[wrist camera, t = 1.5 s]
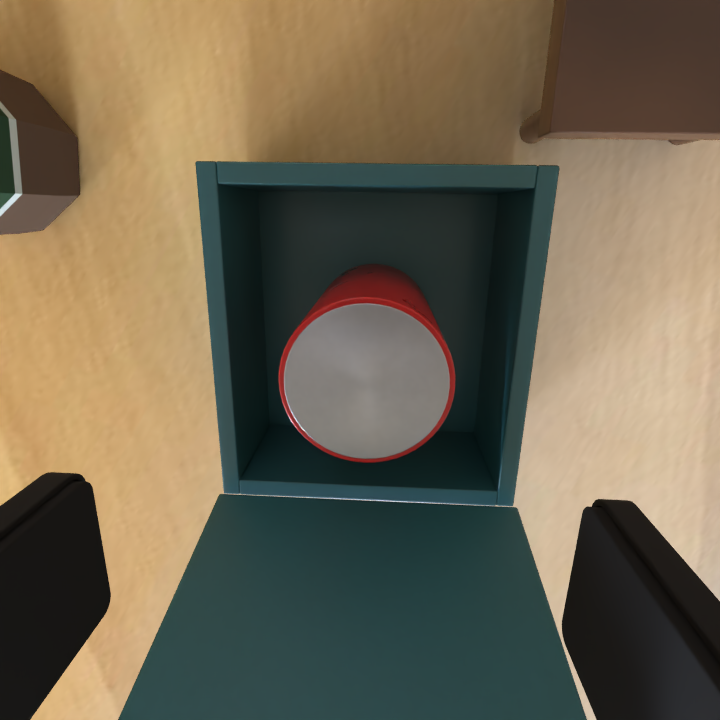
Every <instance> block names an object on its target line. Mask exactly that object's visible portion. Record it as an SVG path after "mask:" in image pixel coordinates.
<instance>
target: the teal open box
mask: <svg viewBox="0 0 720 720" xmlns="http://www.w3.org/2000/svg"><path fill="white" fill-rule="evenodd" d="M196 174H197V185H198V197H199V209H200V220H201V232H202V244H203V255H204V267H205V278H206V290H207V302H208V313H209V325H210V337H211V348H212V360H213V371H214V383H215V395H216V406H217V418H218V430H219V441H220V453H221V464H222V476H223V488H224V493H227V494H246V495H269V496H291V497H313V498H335V499H357V500H379V501H401V502H423V503H445V504H467V505H489V506H495V505H498V506H513V503H514V495H515V488H516V481H517V473H518V466H519V459H520V452H521V444H522V437H523V430H524V422H525V415H526V408H527V401H528V393H529V386H530V379H531V371H532V364H533V357H534V350H535V342H536V335H537V328H538V320H539V313H540V306H541V299H542V291H543V284H544V277H545V269H546V262H547V255H548V248H549V240H550V233H551V226H552V218H553V211H554V204H555V197H556V189H557V182H558V175H559V166H555V165H539V166H536V165H474V164H390V163H306V162H221V161H218V162H215V161H197V162H196ZM365 264H383V265H387V266H391V267H394V268H396V269H398V270H400V271H402V272H404V273H405V274H407V275H408V276H409V277H410V278H412V279H413V280H414V281H415V282H416V284H417V285H418V286H419V287H420V289H421V291H422V292H423V294H424V296H425V299H426V301H427V303H428V305H429V307H430V309H431V312H432V314H433V316H434V318H435V320H436V322H437V325H438V327H439V329H440V331H441V333H442V335H443V338H444V340H445V342H446V344H447V346H448V349H449V351H450V353H451V356H452V360H453V364H454V369H455V392H454V398H453V402H452V405H451V408H450V410H449V413H448V415H447V417H446V419H445V420H444V422H443V424H442V425H441V427H440V428H439V429H438V430H437V432H436V433H435V434H434V435H433V436H432V437H431V438H430V439H429V440H428V441H427V442H426V443H424V444H423V445H422V446H420V447H419V448H417V449H416V450H414V451H412V452H410V453H408V454H407V455H404V456H401V457H399V458H396V459H392V460H388V461H383V462H375V463H363V462H353V461H349V460H344V459H341V458H338V457H335V456H332V455H330V454H328V453H326V452H324V451H322V450H320V449H319V448H317V447H316V446H314V445H313V444H312V443H310V442H309V441H308V440H307V439H306V438H305V437H304V436H303V435H302V434H301V433H300V432H299V431H298V430H297V429H296V427H295V426H294V424H293V423H292V422H291V420H290V418H289V416H288V414H287V413H286V410H285V408H284V405H283V403H282V399H281V395H280V390H279V367H280V361H281V357H282V354H283V351H284V348H285V346H286V344H287V342H288V340H289V338H290V337H291V335H292V334H293V332H294V331H295V329H296V328H297V327H298V326H299V324H300V323H301V322H302V320H303V319H304V318H305V316H306V315H307V314H308V313H309V311H310V310H311V309H312V307H313V306H314V305H315V304H316V302H317V301H318V300H319V298H320V297H321V296H322V294H323V293H324V292H325V291H326V289H327V288H328V287H329V285H330V284H331V283H332V282H333V281H334V280H335V279H336V278H337V277H338V276H339V275H341V274H342V273H344V272H345V271H347V270H349V269H351V268H353V267H357V266H360V265H365Z"/></svg>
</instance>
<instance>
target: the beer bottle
mask: <svg viewBox="0 0 720 720" xmlns="http://www.w3.org/2000/svg"><path fill="white" fill-rule="evenodd" d="M79 195H80V184H79V163H78V142H77V137H76V136H75V134H74V133H73V132H72V131H71V130H70V128H69V127H68V126H67V125H66V124H65V122H64V121H63V120H62V119H61V118H60V117H59V115H58V114H57V113H56V112H55V111H54V109H53V108H52V107H51V106H50V105H49V103H48V102H47V101H46V100H45V99H44V97H43V96H42V95H41V94H40V93H39V92H38V90H37V89H36V88H35V87H34V86H33V85H32V84H30V83H28V82H26V81H24V80H21V79H19V78H17V77H15V76H13V75H10V74H8V73H6V72H3V71H1V70H0V235H3V234H20V233H27V232H34V231H41V230H44V229H45V228H46V227H47V226H48V225H49V224H50V223H51V222H52V221H53V220H54V219H55V218H56V217H57V216H58V215H59V214H60V213H61V212H62V211H64V210H65V209H66V208H67V207H68V206H69V205H70V204H71V203H72V202H73V201H74V200H75V199H76V198H77V197H78V196H79Z"/></svg>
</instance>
